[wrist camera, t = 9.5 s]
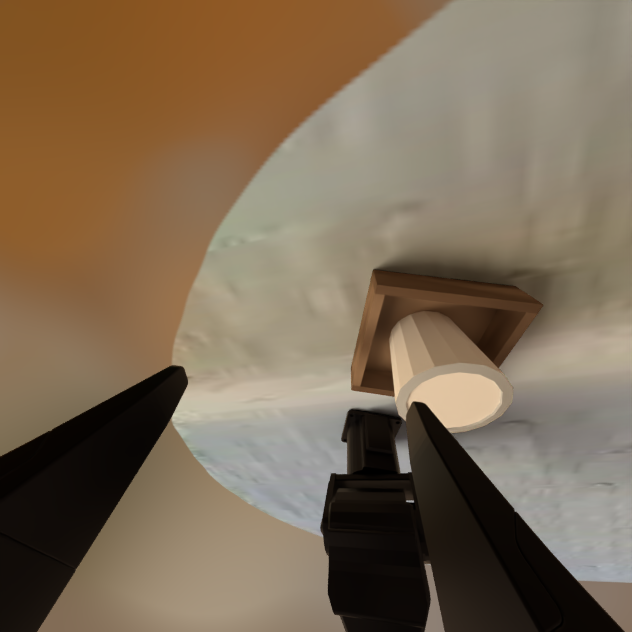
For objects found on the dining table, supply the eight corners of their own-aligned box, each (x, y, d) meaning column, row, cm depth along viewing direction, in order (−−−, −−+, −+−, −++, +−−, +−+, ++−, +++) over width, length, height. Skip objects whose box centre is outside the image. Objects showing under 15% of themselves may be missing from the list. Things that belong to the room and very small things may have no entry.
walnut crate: (456, 382, 23) (470, 407, 21) (351, 367, 24) (351, 390, 21) (515, 286, 17) (543, 304, 15) (373, 269, 18) (377, 284, 16)
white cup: (381, 307, 19) (397, 366, 13) (471, 300, 18) (531, 362, 12) (382, 366, 23) (394, 434, 17) (457, 364, 21) (499, 436, 15)
